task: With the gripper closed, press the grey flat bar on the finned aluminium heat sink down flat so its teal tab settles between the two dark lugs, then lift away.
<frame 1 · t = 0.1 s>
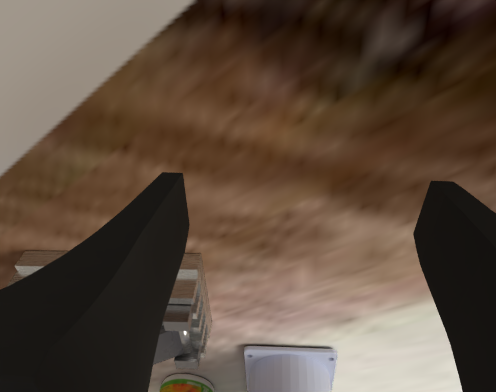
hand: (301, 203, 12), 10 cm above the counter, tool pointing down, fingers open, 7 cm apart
heat sink: (124, 288, 31), on the counter
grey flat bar: (109, 363, 26), point 6 cm above the counter, hinge at 25.0°
supplement bottle: (188, 384, 40), on the counter
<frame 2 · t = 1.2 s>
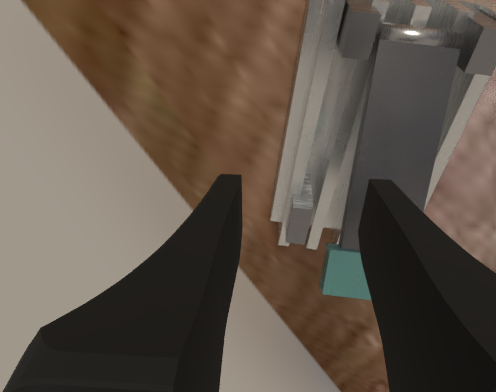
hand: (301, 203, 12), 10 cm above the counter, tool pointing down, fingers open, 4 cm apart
heat sink: (360, 121, 21), on the counter
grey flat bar: (391, 170, 16), point 6 cm above the counter, hinge at 25.0°
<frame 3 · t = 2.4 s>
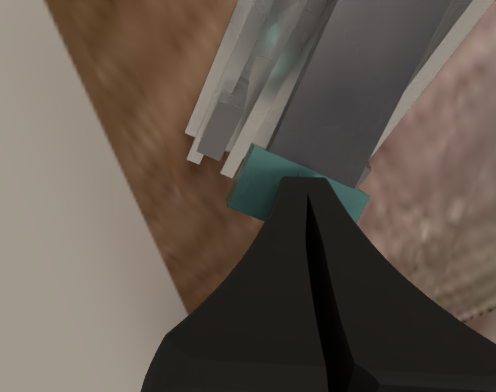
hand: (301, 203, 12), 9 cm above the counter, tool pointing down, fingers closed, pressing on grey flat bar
heat sink: (327, 33, 17), on the counter
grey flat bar: (361, 63, 12), point 6 cm above the counter, hinge at 24.5°, touching gripper
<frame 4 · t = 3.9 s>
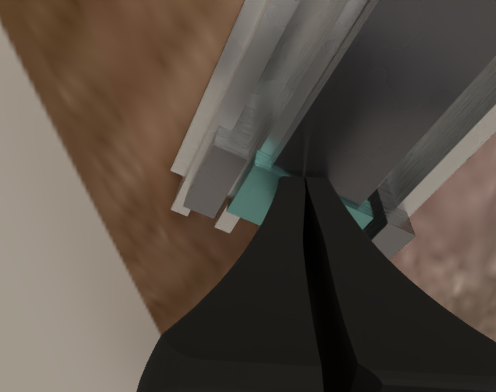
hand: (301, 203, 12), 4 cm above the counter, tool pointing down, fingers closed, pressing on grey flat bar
heat sink: (356, 50, 13), on the counter
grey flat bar: (390, 85, 10), point 4 cm above the counter, hinge at -1.2°, touching gripper, heat sink
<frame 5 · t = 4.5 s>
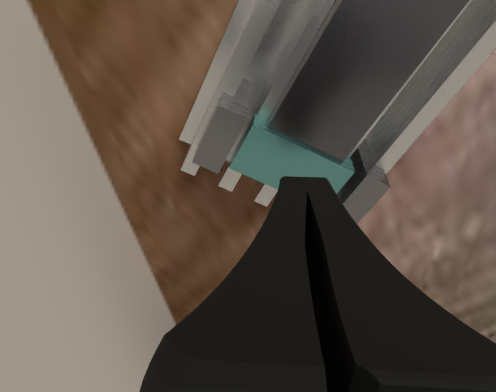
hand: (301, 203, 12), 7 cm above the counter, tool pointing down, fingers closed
heat sink: (340, 31, 15), on the counter
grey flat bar: (364, 54, 12), point 4 cm above the counter, hinge at -1.2°, touching heat sink
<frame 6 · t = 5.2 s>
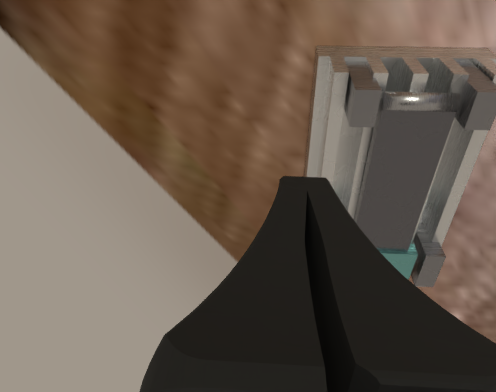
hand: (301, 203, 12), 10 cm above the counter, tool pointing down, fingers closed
heat sink: (375, 162, 23), on the counter
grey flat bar: (392, 197, 19), point 4 cm above the counter, hinge at -1.2°, touching heat sink
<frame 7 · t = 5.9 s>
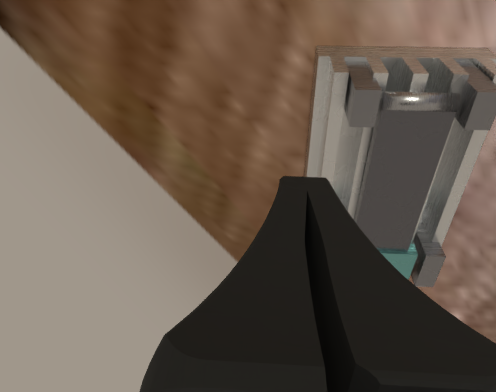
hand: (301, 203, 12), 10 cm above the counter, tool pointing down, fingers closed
heat sink: (375, 162, 23), on the counter
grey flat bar: (392, 197, 19), point 4 cm above the counter, hinge at -1.2°, touching heat sink
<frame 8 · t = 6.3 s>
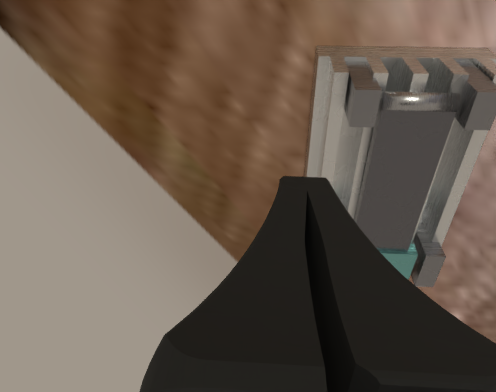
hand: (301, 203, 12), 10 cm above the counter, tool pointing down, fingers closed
heat sink: (375, 162, 23), on the counter
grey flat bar: (392, 197, 19), point 4 cm above the counter, hinge at -1.2°, touching heat sink
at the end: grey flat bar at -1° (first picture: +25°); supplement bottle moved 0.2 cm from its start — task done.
